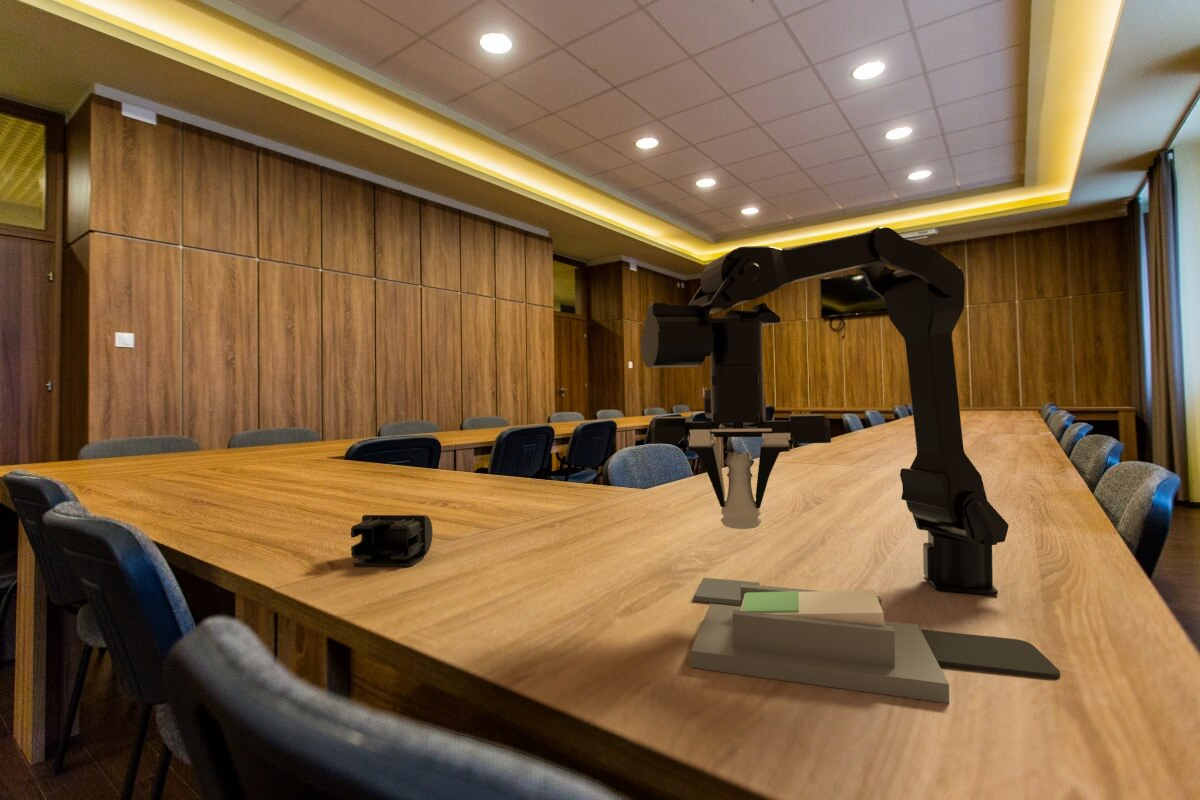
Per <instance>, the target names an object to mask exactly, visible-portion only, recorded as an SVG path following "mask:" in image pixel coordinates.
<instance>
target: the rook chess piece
mask: <svg viewBox="0 0 1200 800" xmlns="http://www.w3.org/2000/svg"><path fill="white" fill-rule="evenodd" d="M739 453H740V454H738V451H731V452H729V451H728V452H727V457H726V458H725V459H724V464H725V465H726V466H727V468H728V472H727V474H726V477H727V478H728V489H727V496H726V499H725V506H724V507H721V510H720V513H721V515H722V518H721V519H720V522H721V524H722V525H723V526H724V527H727V528H730V529H737V530H746V529H747V530H748V529H756V528H757V527H759V526H760V525H761V523H762V519H761V518H760V517H759V516H761V514H762V513H761V510H760V509H761V508H756V500H755V498H754V494H753V488H752V478H753V476H754V475H753V474H752V472H751V468H752V466H753V465H754V463H755V461H754V459H753V457H752V456H751V455H752V453H751V452H750V451H740V452H739Z"/></svg>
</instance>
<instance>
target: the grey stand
mask: <svg viewBox="0 0 1200 800" xmlns="http://www.w3.org/2000/svg"><path fill="white" fill-rule="evenodd" d="M740 590H741V606H742V602H743V599H744V595H745V593H749V592H783V591H798V592H808V591H817V590H815V589H814V590H813V589H805V588H804V589H803V588H792V587H782V586H781V587H779V586H767V585H761V584H760V585H748V584H741V587H740ZM876 596H877V598H878V601H879V603H880V606H881V607H882V598H881V596H880V595H876ZM741 606H740V605H730V604H720V603H709V605H708V608H707V611H706V612H705V615H704V617H703V620H702V623H701V624H700V627H699V630H698V632H697V635H696V637H695V639H694V642H693V644H692V647H691V649H690V668H691V669H692V668H693V669H699V670H707V671H714V672H719V673H728V674H736V675H741V676H742V675H743V676H749V677H756V678H764V679H770V680H777V681H787V682H791V683H799V684H800V683H801V684H807V685H814V686H815V685H816V686H821V687H827V688H835V689H837V688H838V689H842V690H851V691H857V692H863V693H864V692H865V693H872V694H878V695H879V694H880V695H885V696H893V697H900V698H908V699H914V700H915V699H916V700H921V701H930V702H935V703H945V704H950V683H949V681H948V680H947V678H946V676H945V673H944V672H943V670H942V667H940V666H939V664H938V662H937V660H936V658H935V656H934V655H933V653H932V651H931V649H930V647H929V645H928V643H927V641H926V639H925V637H924V636H923V634H922V632H921V630H920V629H921V628H920V627H919V624H914V623H906V622H897V621H886V620H885V626H882V625H873V624H863V623H853V622H843V621H834V620H824V619H814V618H805V617H795V616H785V615H776V614H766V613H756V612H747V611H740V610H741Z"/></svg>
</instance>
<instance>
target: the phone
mask: <svg viewBox="0 0 1200 800" xmlns="http://www.w3.org/2000/svg"><path fill="white" fill-rule="evenodd" d="M920 630H921V632H922V634H923V636H924V637H925V639H926V641H927V643H928V645H929V647H930V649H931V651H932V653H933V655H934V656H935V658H936V660H937V662H938V664H939V666H940V668H945V669H954V670H955V669H956V670H963V671H974V672H982V673H992V674H1000V675H1001V674H1002V675H1007V676H1008V675H1009V676H1018V677H1019V676H1020V677H1028V678H1035V679H1036V678H1038V679H1049V680H1058V679H1060V678H1061V671H1060V669H1059V668H1058V667H1057V666H1055V664H1053V663H1052V661H1051V660H1050V659H1048V658H1047V656H1045V655H1044V654H1043V653H1042V652H1041V651H1040V650H1039V649H1038V648H1037V647H1036V646H1035V645H1033V644H1032V643H1030V642H1028V641H1026V640H1021V639H1017V638H1009V637H999V636H990V635H982V634H981V635H979V634H970V633H962V632H961V633H960V632H951V631H941V630H930V629H922V628H920Z"/></svg>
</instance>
